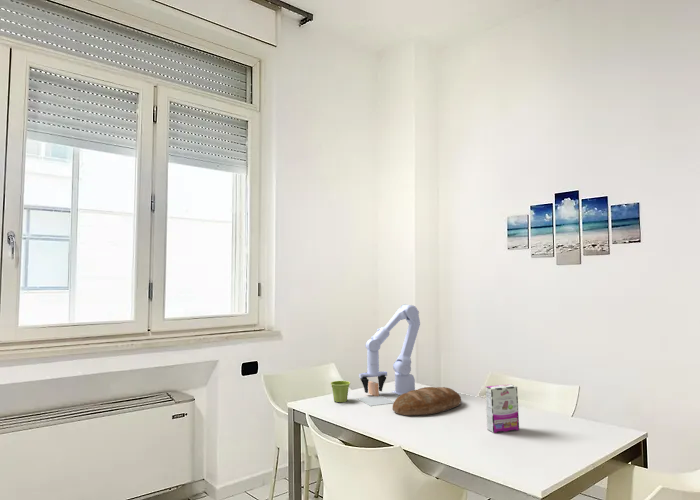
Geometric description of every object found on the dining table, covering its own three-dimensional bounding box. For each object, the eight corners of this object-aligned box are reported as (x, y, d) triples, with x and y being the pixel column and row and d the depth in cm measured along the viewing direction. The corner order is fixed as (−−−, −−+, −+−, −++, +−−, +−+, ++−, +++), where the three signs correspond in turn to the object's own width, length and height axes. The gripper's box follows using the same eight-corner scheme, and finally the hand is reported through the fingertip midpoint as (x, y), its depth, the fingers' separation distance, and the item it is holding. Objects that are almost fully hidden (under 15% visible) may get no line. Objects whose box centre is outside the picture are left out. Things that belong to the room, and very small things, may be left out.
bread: (473, 405, 230) (472, 386, 231) (418, 421, 206) (417, 400, 206) (435, 396, 247) (435, 379, 247) (380, 411, 223) (380, 391, 223)
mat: (380, 396, 249) (380, 395, 249) (396, 403, 234) (396, 402, 234) (356, 398, 244) (356, 398, 244) (370, 406, 229) (370, 405, 229)
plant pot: (354, 400, 241) (354, 381, 242) (343, 404, 233) (343, 385, 234) (337, 398, 246) (337, 380, 247) (326, 402, 238) (326, 383, 239)
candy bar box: (512, 426, 196) (510, 383, 197) (519, 430, 191) (518, 386, 192) (486, 429, 193) (484, 385, 194) (493, 433, 188) (491, 388, 189)
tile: (371, 393, 255) (371, 381, 255) (378, 395, 247) (378, 383, 248) (368, 393, 254) (368, 381, 254) (375, 396, 247) (374, 383, 247)
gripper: (382, 361, 258) (383, 388, 257) (356, 363, 252) (356, 391, 252) (388, 363, 251) (389, 391, 251) (362, 365, 246) (362, 394, 245)
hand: (373, 391), depth 251 cm, fingers open, 7 cm apart
